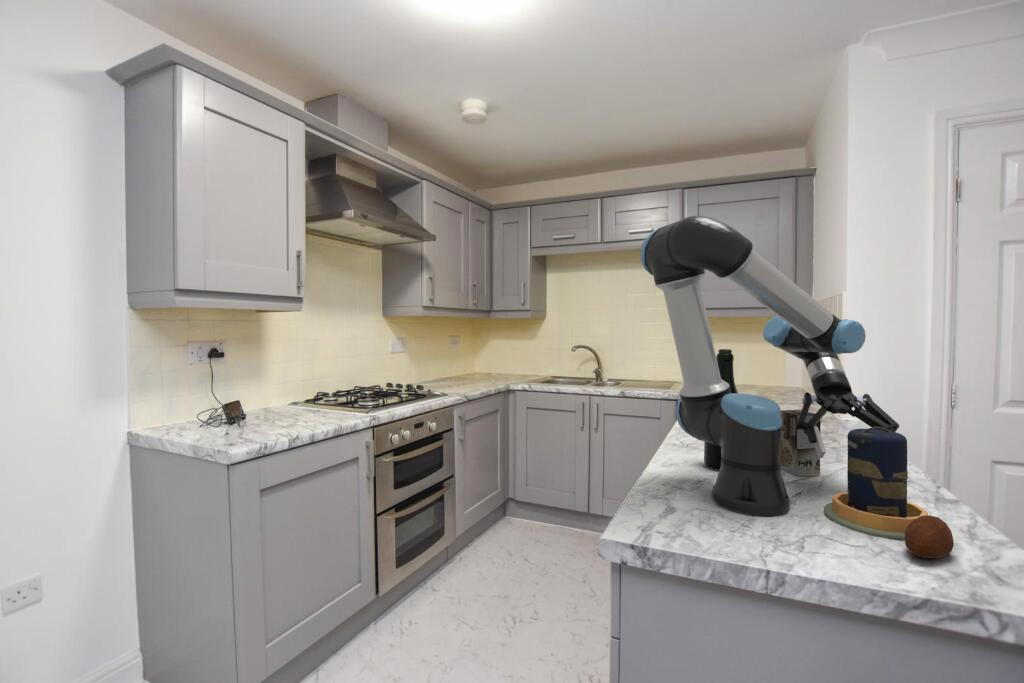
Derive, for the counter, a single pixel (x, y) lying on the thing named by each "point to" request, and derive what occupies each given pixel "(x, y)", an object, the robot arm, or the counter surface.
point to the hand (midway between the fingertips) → (857, 456)
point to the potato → (929, 537)
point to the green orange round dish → (871, 518)
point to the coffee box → (798, 446)
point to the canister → (877, 471)
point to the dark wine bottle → (727, 374)
